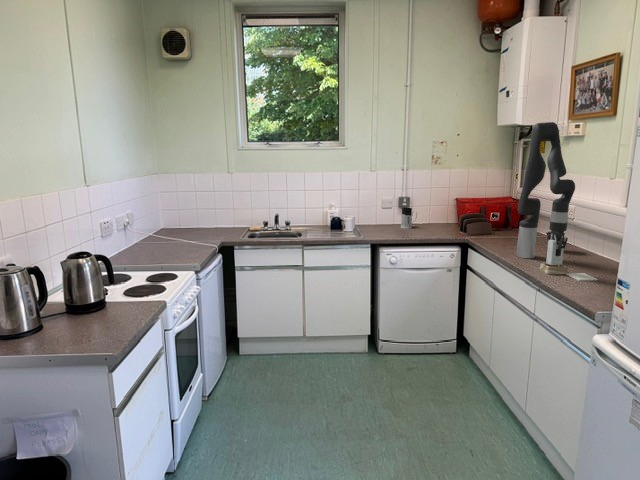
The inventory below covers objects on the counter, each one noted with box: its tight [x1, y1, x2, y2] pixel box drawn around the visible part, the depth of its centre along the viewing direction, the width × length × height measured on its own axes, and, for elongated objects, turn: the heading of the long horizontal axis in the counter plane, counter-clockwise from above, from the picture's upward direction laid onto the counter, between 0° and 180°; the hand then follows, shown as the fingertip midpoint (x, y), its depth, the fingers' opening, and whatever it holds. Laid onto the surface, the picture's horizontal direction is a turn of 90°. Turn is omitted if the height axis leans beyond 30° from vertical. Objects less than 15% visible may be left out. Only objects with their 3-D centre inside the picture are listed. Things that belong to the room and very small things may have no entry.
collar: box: [539, 262, 569, 275], centre depth 219 cm, size 8×10×4 cm
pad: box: [565, 272, 598, 282], centre depth 210 cm, size 10×9×1 cm
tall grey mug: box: [400, 207, 418, 229], centre depth 339 cm, size 9×14×15 cm, turn 40°
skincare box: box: [545, 240, 565, 265], centre depth 217 cm, size 6×4×12 cm
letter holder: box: [458, 212, 492, 236], centre depth 316 cm, size 10×20×14 cm, turn 105°
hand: (554, 254), depth 218 cm, fingers closed on skincare box, 4 cm apart
